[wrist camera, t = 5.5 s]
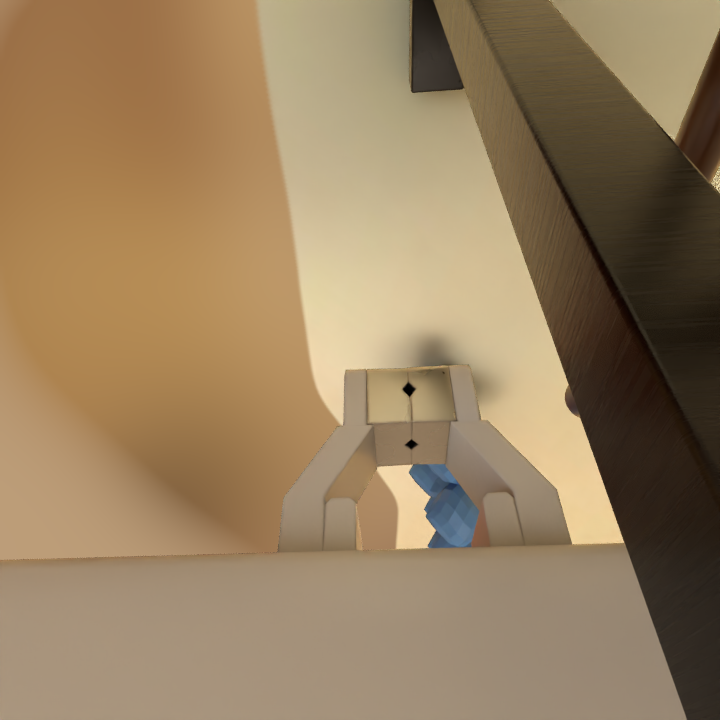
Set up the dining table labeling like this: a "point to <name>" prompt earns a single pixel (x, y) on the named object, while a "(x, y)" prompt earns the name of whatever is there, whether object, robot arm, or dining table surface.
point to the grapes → (446, 506)
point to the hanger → (696, 134)
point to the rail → (610, 289)
